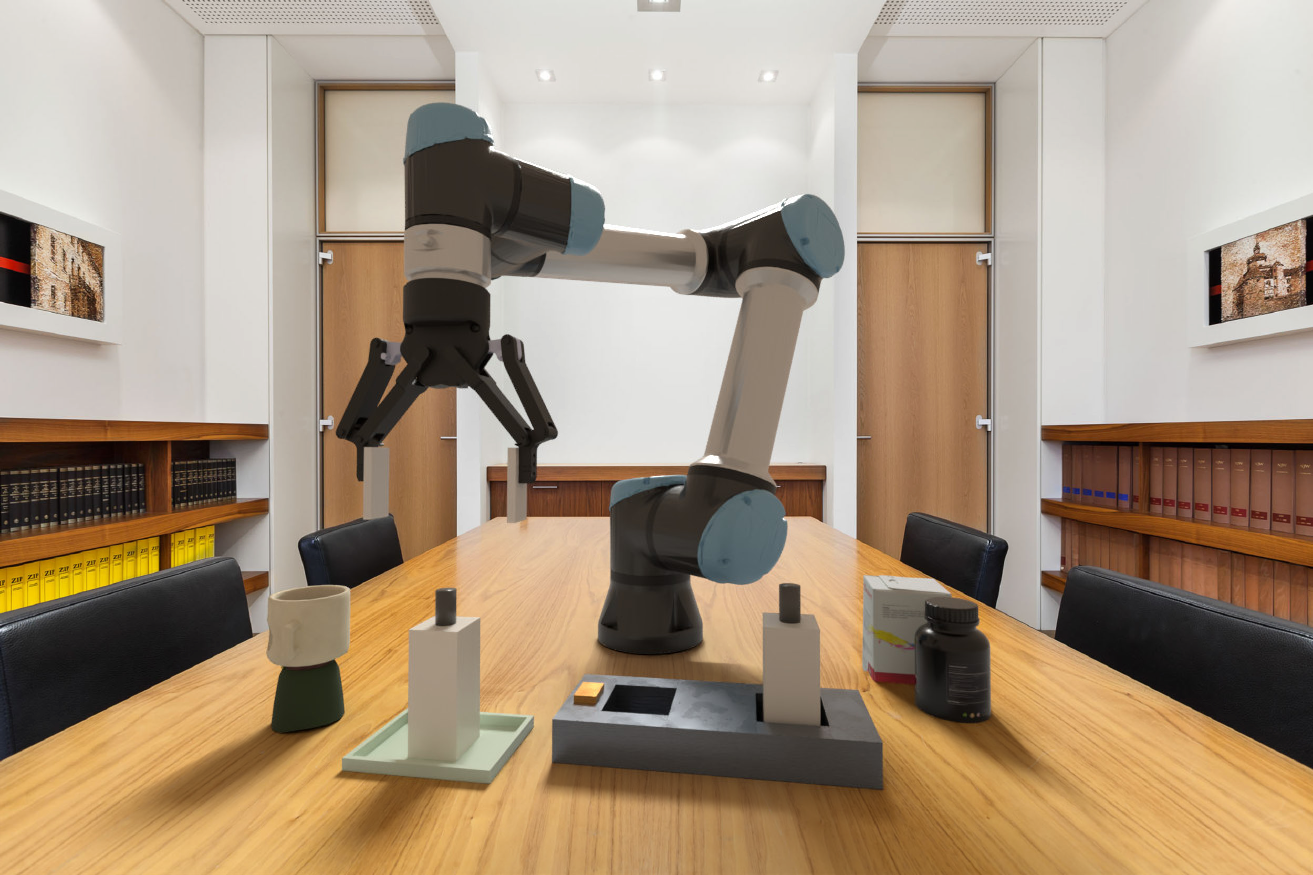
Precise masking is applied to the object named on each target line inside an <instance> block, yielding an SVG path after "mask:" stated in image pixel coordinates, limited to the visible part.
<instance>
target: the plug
mask: <svg viewBox="0 0 1313 875" xmlns="http://www.w3.org/2000/svg"><path fill="white" fill-rule="evenodd" d="M434 593H435V595H434V596H435V597H434V599H435V604H434V605H435V606H434V607H435V608H434V609H435V612H434V613H435V614H434V615H433V616H431V617H430V618H428V619H426V620H424V621H422V622H420V623H419V624H417V625H415V626H412V627H411V628H409V629H408V665H407V666H408V672H407V674H408V676H407V678H408V679H407V681H408V684H407V686H408V688H407V692H408V693H407V700H408V701H407V702H408V703H407V705H408V706H407V708H408V757H411V758H422V759H434V760H446V761H457V760H458V759H459V758H460V757H461V756H462V755H463V754H464V753H465V752H466V751H467V749H468V748H469V747H470V746H471V745H472V744H473V743H474V742H475V741H476V740H477V739H478V738H479V737H480V712H481V617H478V616H476V617H475V616H457V588H456V587H441V588H438V589H436V590H435V592H434Z"/></svg>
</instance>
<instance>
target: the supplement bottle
mask: <svg viewBox="0 0 1313 875" xmlns="http://www.w3.org/2000/svg"><path fill="white" fill-rule="evenodd" d="M924 618H925V620H927V623H925V624H923V625H921V626H920V627H919V628H918V629H917V630H916V632H915V639H914V647H915V684H914V704H915V706H916V707H917V708H918V710H920V711H921V712H923V713H925V714H927V715H928V716H931V717H934V718H935V719H939V720H944V721H947V722H952V723H958V724H979V723H985V722H987V721H989V719H990V718H991V717H992V697H991V696H992V692H991V691H992V690H991V689H992V685H991V684H992V683H991V679H992V678H991V675H992V674H991V669H992V668H991V667H992V666H991V642H990V641H989V639H988V637H987V636H986V634H984V633H983V631H981V630H980V629H978V628H977V627H978V626H979V625H980V622H981V621H980V617H979V606H978V604H977V603H976V602H974V601H971V600H968V599H964V598H960V597H953V596H952V597H931V598H927V599H926V600H925V613H924Z"/></svg>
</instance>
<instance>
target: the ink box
mask: <svg viewBox="0 0 1313 875" xmlns="http://www.w3.org/2000/svg"><path fill="white" fill-rule="evenodd" d="M862 580H863V584H862V585H863V587H862V588H863V590H862V591H863V592H862V595H863V596H862V598H863V599H862V651H861V652H862V654H861V656H862V657H861V658H862V659H861V661H862V662H861V664H862V665H861V668H862V670H863V672H868V673H869V676H870V678H871V680H872V681H874V682H877V683H890V684H903V685H905V684H906V685H915V647H914V639H915V632H916V630H917V629H918V628H919V627H920V626H921V625H923V624H925V623H927V620H925V618H924V613H925V600H926V599H927V598H931V597H953V596H952V593H951V592H950V591H948V590H947V588H945V587H944V586H943V585H942V584H941V583H939V582H938V581H937V580H936V579H935V578H928V577H927V578H925V577H906V576H905V577H904V576H897V575H896V576H894V575H886V574H885V575H883V574H881V575H880V574H879V575H871V574H869V575H867V574H864V575H863V578H862Z"/></svg>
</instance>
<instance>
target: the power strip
mask: <svg viewBox="0 0 1313 875" xmlns="http://www.w3.org/2000/svg"><path fill="white" fill-rule="evenodd" d="M568 695H569V696H567V698H566V699H565V701H564V702H563V703H562V705H561V707H560V708H559V709H558V710H557V712H556V713H555V715H554V716H553V717H552V718H551V735H552V736H551V763H552V764H560V765H562V764H563V765H572V766H573V765H574V766H588V767H598V768H599V767H600V768H611V769H622V770H623V769H625V770H633V771H635V770H636V771H646V772H658V773H660V772H661V773H670V774H671V773H672V774H673V773H674V774H682V775H683V774H685V775H695V776H697V775H698V776H708V777H709V776H710V777H721V778H733V779H745V780H755V781H757V780H758V781H769V782H782V783H794V784H807V785H818V786H827V787H828V786H830V787H842V788H853V789H863V790H864V789H865V790H867V789H868V790H876V791H883V790H884V769H883V768H884V764H883V763H884V762H883V760H884V758H883V757H884V753H883V752H884V749H883V748H884V747H883V746H884V745H883V740H882V738H881V736H880V734H879V732H878V730H877V727H876V725H875V723H874V721H873V719H872V717H871V714H870V712H869V709H868V708H867V706H866V704H865V702H864V699H863V697H862V695H861V693H860V690H859V689H850V688H849V689H848V688H831V687H820V726H814V725H799V724H784V723H770V722H763V683H762V684H761V683H760V684H759V683H745V682H744V683H743V682H729V681H728V682H727V681H714V680H713V681H712V680H711V681H710V680H698V679H697V680H693V679H692V680H691V679H680V678H679V679H675V678H661V677H659V678H657V677H645V676H644V677H643V676H627V675H624V676H623V675H610V674H609V675H608V674H592V673H591V674H590V673H585V674H583V676H582V678H580V680H579V682H578V683H577V684H576V686H575V687H574V688H573V689H572V691H571V692H570V694H568Z"/></svg>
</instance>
